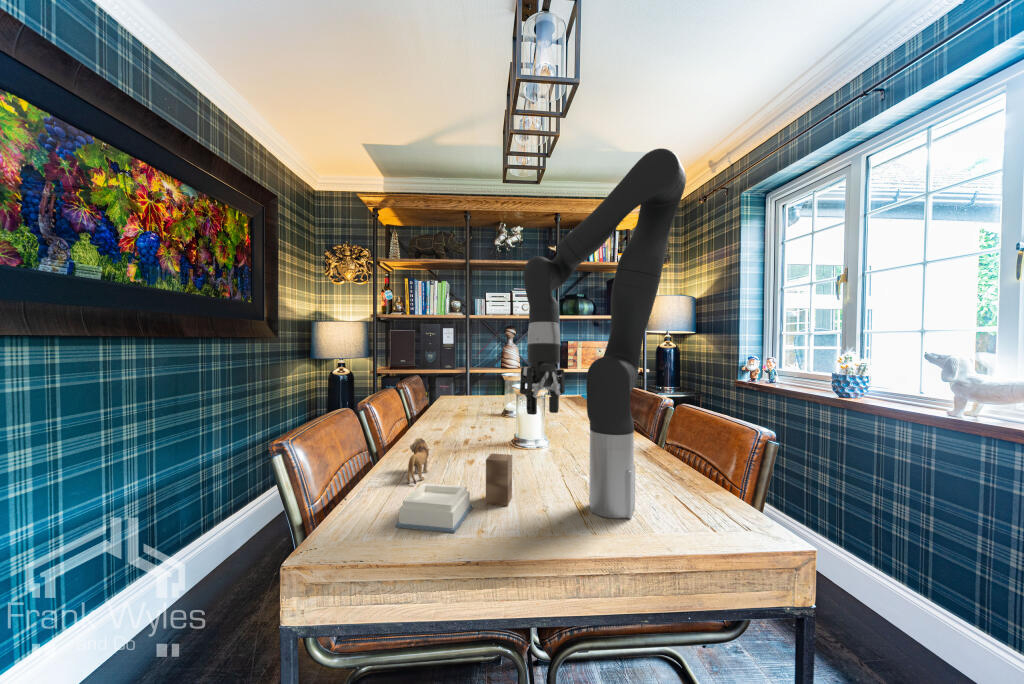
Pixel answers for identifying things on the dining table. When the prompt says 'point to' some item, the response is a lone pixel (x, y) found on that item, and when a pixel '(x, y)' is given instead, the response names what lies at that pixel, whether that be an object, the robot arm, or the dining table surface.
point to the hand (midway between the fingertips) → (543, 413)
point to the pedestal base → (435, 508)
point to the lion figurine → (418, 459)
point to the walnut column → (499, 479)
